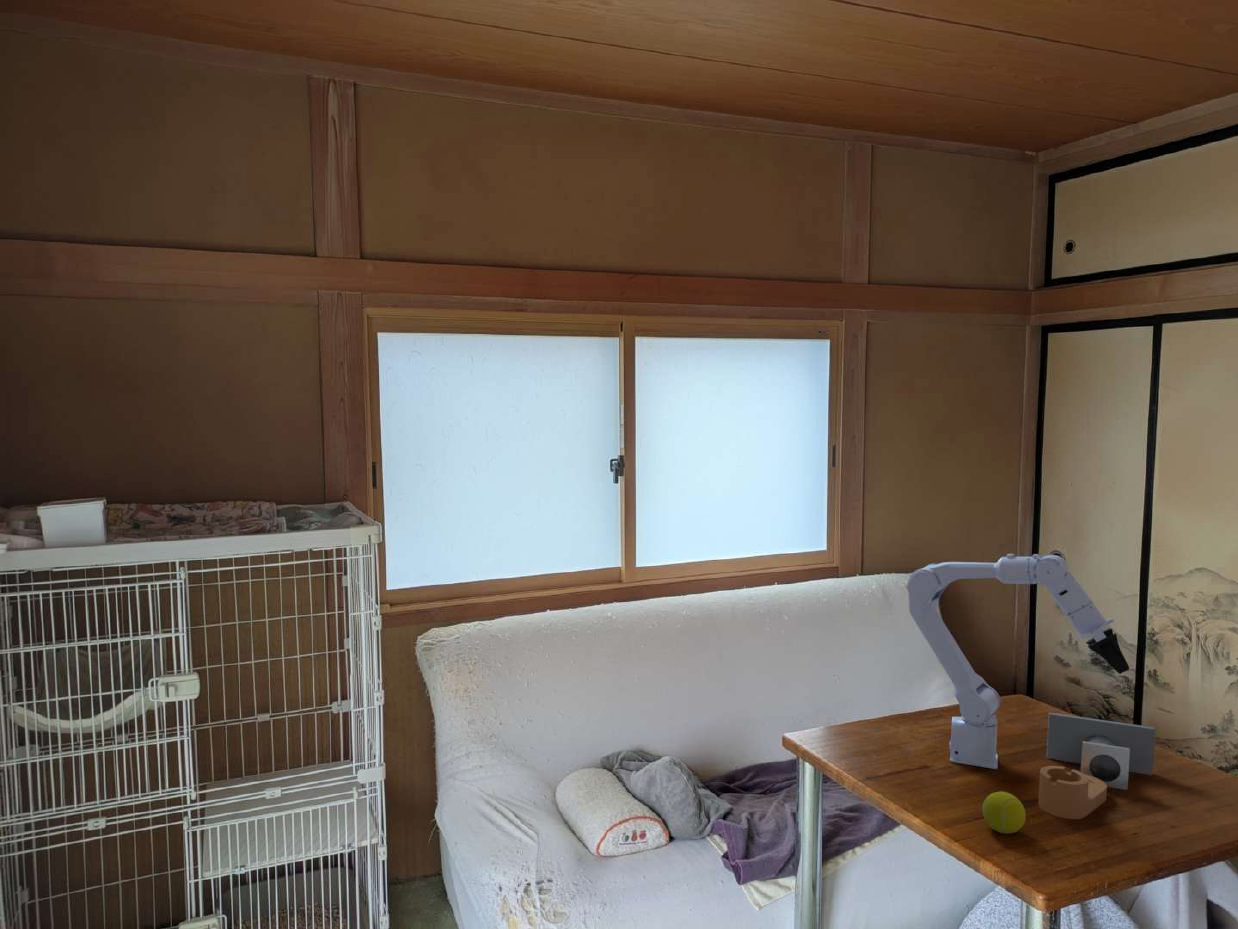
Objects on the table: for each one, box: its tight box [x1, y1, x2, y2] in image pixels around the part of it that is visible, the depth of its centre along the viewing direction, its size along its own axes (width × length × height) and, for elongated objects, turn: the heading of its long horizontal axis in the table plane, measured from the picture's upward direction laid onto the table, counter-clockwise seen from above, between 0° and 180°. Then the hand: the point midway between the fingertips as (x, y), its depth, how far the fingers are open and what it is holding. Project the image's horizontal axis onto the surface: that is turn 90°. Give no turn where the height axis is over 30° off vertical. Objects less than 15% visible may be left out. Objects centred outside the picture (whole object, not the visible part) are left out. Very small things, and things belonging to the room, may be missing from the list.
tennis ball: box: [981, 791, 1027, 835], centre depth 155 cm, size 7×7×7 cm
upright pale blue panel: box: [1046, 712, 1156, 791], centre depth 179 cm, size 20×12×10 cm, turn 66°
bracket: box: [1038, 765, 1108, 820], centre depth 167 cm, size 18×8×7 cm, turn 131°
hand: (1122, 669), depth 168 cm, fingers open, 7 cm apart
